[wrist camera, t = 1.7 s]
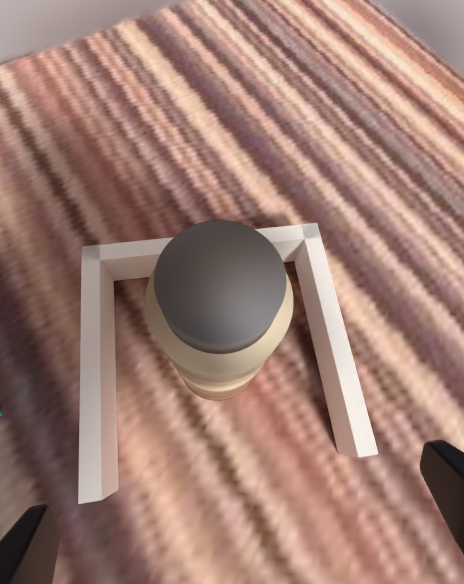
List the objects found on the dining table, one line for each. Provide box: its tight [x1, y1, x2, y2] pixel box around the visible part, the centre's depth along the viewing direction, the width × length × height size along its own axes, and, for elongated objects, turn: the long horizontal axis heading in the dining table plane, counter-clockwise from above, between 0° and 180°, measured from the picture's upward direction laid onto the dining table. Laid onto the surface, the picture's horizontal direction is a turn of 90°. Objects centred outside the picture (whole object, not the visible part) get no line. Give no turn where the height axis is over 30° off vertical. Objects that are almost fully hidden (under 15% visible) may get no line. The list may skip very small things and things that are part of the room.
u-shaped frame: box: [78, 223, 378, 504], centre depth 20 cm, size 13×14×3 cm
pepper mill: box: [145, 220, 293, 401], centre depth 15 cm, size 5×5×12 cm
